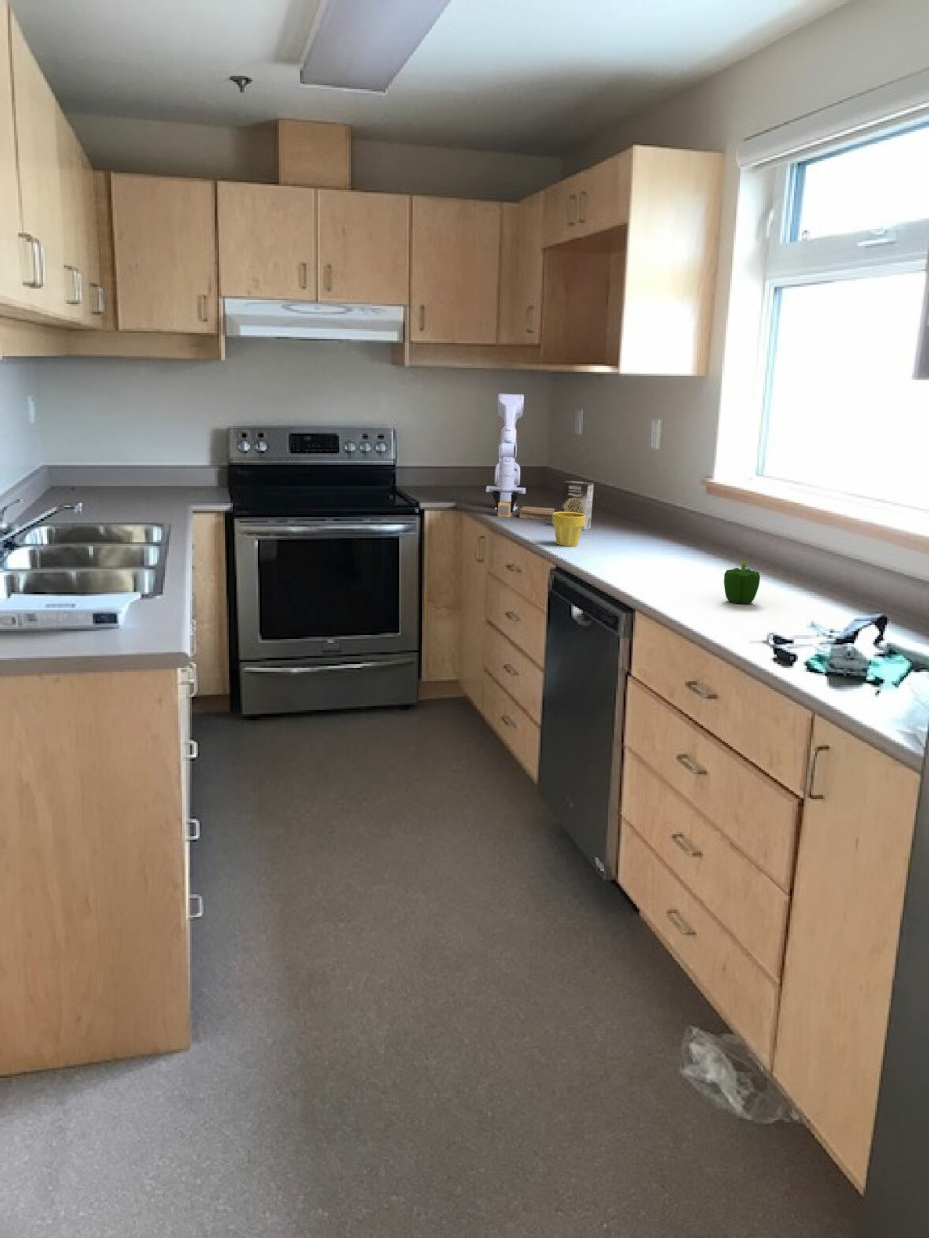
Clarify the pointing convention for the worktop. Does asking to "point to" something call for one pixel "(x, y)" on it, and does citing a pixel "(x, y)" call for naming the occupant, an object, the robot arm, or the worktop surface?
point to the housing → (504, 509)
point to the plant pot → (568, 527)
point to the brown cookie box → (578, 499)
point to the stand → (537, 513)
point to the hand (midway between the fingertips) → (504, 511)
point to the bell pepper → (741, 584)
